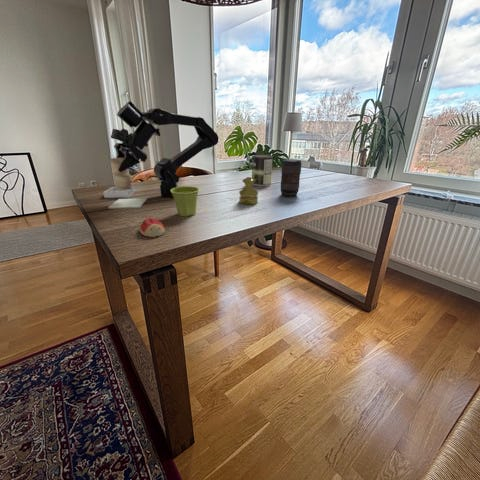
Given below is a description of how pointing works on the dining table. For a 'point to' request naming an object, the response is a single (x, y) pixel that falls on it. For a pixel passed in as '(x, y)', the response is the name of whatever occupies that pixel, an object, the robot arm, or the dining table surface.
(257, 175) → the coffee can
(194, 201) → the plant pot
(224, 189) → the dining table surface
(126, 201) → the sage board
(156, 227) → the red and white dome
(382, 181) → the dining table surface
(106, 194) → the grey square frame
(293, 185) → the dark brown cylinder
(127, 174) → the maple peg
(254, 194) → the olive yellow tied sack
